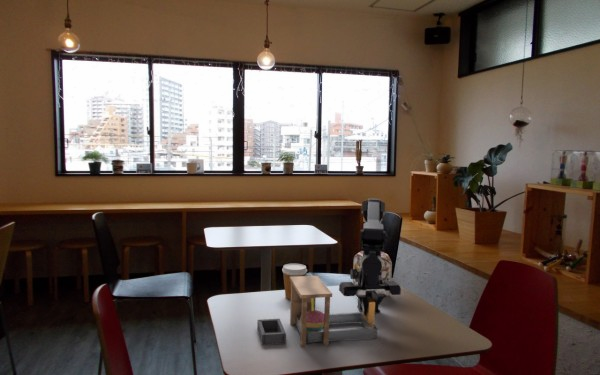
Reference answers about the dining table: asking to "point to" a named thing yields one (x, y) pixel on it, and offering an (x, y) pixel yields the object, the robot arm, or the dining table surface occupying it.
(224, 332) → the dining table surface
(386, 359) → the dining table surface
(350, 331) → the grey shallow tray
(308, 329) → the cupcake
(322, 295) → the small wooden table
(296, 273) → the disposable coffee cup
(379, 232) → the robot arm
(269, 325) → the box
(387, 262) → the decorative jar
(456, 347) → the dining table surface
